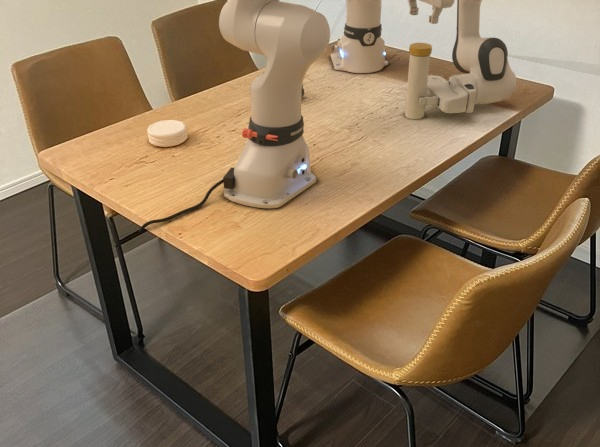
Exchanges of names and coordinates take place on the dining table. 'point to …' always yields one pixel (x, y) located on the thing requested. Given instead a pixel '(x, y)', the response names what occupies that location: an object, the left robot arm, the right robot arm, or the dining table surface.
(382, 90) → the dining table surface
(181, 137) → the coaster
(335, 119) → the dining table surface
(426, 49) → the lid
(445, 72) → the dining table surface
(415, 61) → the jar
